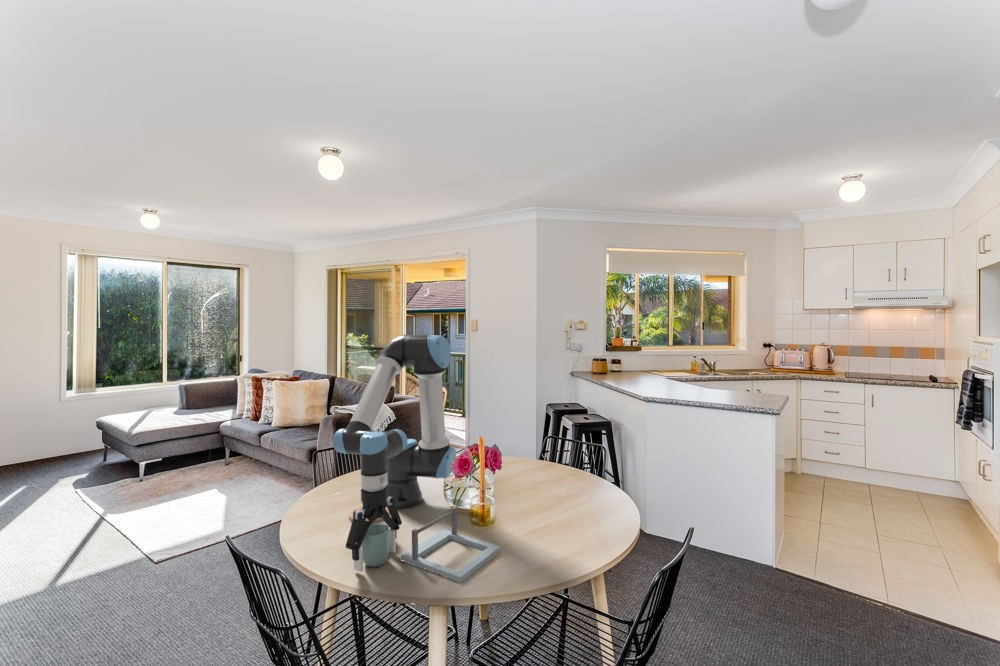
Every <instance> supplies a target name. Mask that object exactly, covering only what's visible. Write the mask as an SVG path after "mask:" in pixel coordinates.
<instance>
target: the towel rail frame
mask: <svg viewBox="0 0 1000 666" xmlns="http://www.w3.org/2000/svg"><path fill="white" fill-rule="evenodd" d="M457 509H458V508H457V507H455V506H453V507H451V510H449V512H447V513H445V514H443V515H442V516H439V517H438V518H435V519H434V520H432V521H430V522H428V523H427V524H426V525H424V526H422V527H420V528H418V529H417V528H413V529H412V530H411V548H410V549H409V550H407V551H405V552H403V553H402V554H400V557H399V558H400V561H401V560H404V561H406V562H409V563H411V564H414V565H416V566H415V567H417V566H419V567H418V568H420V567H422V568H425V569H427V570H426V571H428V570H430V571H433V572H435V573H434V574H436V573H438V574H440V575H439V576H441V575H443V576H442V577H444V576H446V577H448V578H447V579H449V578H451V579H450V580H452V579H454V580H453V581H455V580H456V581H455V582H457V581H458V582H457V583H460V582H461V583H463V581H465V580H466V579H467V578H469V577H470V576H471V575H473V574H474V573H475V572H476V571H477V570H479V569H480V568H482V567H483V566H484V565H485V564H487V563H488V562H489V561H490V560H491V559H492V558H494V557H496V555H498V554H499V553H500V552H501V546H499V545H496V544H494V543H493V544H492V543H490V542H486V541H483V540H481V539H480V540H479V539H476V538H473V537H470V536H468V535H463V534H461V533H458V514H457V513H458V510H457ZM448 517H451V530H447V529H445V528H443V529H442V530H440V531H438V532H437V533H435V534H433V535H432V536H430V537H429V538H426V540H424V541H422V542H420V543H419V534H420V533H421V532H424V531H426V530H427V529H429V528H430V527H432V526H434V525H435V524H438V523H439V522H440V521H443V520H444V519H446V518H448ZM449 540H452V541H453V542H457V543H460V544H464V545H467V546H468V547H473V548H476V549H480V550H482V551H481V552H479V553H478V554H477V555H475V556H474V557H472V558H471V559H470V560H469V561H467V562H466V563H465V564H463V565H462V566H461V567H460V568H458V569H457V570H455V569H452V568H450V567H446V566H444V565H442V564H438V563H436V562H432V561H430V560H427V559H424V558H422V556H423V557H424V556H426V555H428V554H429V553H430V551H431V550H432V551H434V550H435V549H437V548H438V547H439V545H440V546H441V545H443V544H445V543H446V542H448V541H449ZM444 542H445V543H444ZM436 547H437V548H436ZM433 549H434V550H433ZM432 551H431V552H432ZM428 552H429V553H428ZM425 554H426V555H425ZM420 557H421V558H420ZM406 562H405V563H406ZM409 563H408V564H409ZM411 564H410V565H411ZM414 565H413V566H414ZM422 568H421V569H422ZM425 569H424V570H425ZM430 571H429V572H430ZM433 572H432V573H433ZM438 574H437V575H438ZM446 577H445V578H446Z"/></svg>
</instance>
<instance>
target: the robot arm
mask: <svg viewBox="0 0 1000 666" xmlns="http://www.w3.org/2000/svg"><path fill="white" fill-rule="evenodd" d="M451 353H452V351H451V348H450V344H449V342H448V340H447V339H446V338H445V337H444V336H442V335H435V334H403V335H402V334H401V335H399V336H397V337H395V338H394V339H391V341H389V342H388V343H387V344H386V345H385V346H384V347H383V348H382V349H381V351H380V352H379V354H378V355H377V357H376V359H375V362H374V364H375V368H374V370H373V372H372V375H371V376H370V377H369V378H370V379H369V381H368V383H367V385H366V387H365V389H364V391H363V394H362V395H361V397H360V400H359V402H358V404H357V406H356V408H355V410H354V412H353V414H352V417H351V419H350V421H349V422H348V425H347V426H346V427H345V428H340V429H338V430H336V431H335V433H334V435H333V437H332V438H333V439H332V446H333V448H334V450H335V452H337V453H341V454H345V455H346V454H347V455H350V454H351V455H359V458H360V460H359V461H360V488H361V489H360V500H361V504H362V506H363V508H362V510H360V511H354V512H353V521H352V525H351V528H350V527H349V528H350V529H349V533H348V536H347V540H346V543H345V548H346V549H348V550H351V555H352V556H351V559H352V561H353V570H355V571H357V572H359V573H362V572H363V571H364V565H363V564H364V561H363V550H362V548H361V544H362V542H363V540H364V537H365V535H366V533H367V531H368V528H369V526H370V525H371V524H372V522H373V521H375V520H376V519H378V518H382V519H383V520H384V521H385V523H386V524H387V525H388V526H389V553H390V552H391V553H396V551H397V550H396V544H397V543H396V542H397V541H396V540H397V533H398V532H397V531H399V530H400V526H401V525H402V523H403V522H402V519H401V516H400V513H399V511H398V509H407V508H412V507H415V506H417V505H419V504H420V503H422V500H423V493H422V491H421V488H420V484H419V482H418V477H422V478H429V479H430V478H431V479H447V478H448V477H450V476H451V474H452V473H453V470H451V464H452V462H453V460H454V459H455V457H456V458H457V450H456V448H455V447H453V446H451V445H450V439H449V438H448V437H446V427H445V424H446V423H445V410H444V408H445V407H444V392H443V391H444V390H443V375H444V374H445V373H446V371H447V370H446V369H447V368H448V367H449V366H450V363H451V355H452V354H451ZM405 367H412V369H413V374H414V375H415V376H416V377H417V378H418V379H417V380H418V393H419V394H418V396H419V411H420V425H421V439H420V440H419V441H417V439H414V438H408V436H407V435H406V433H405V432H404V431H403V430H401V429H400V428H394V429H390V430H387V431H384V430H383V431H381V430H373V428H374V426H375V424H376V421H377V420H378V417H379V415H380V412H381V411H382V410H381V409H382V408H383V406H384V403H385V401H386V398H387V397H388V394H389V392H390V390H391V387H392V385H393V383H394V381H395V379H396V376H397V375H399V374H400V373H401V372H402V369H403V368H405ZM455 460H456V459H455ZM386 507H387V508H388V510H389V513H390V516H389V513H388V512H387V511H386V509H385V508H386ZM366 518H367V520H369V521H366Z"/></svg>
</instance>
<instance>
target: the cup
mask: <svg viewBox="0 0 1000 666" xmlns="http://www.w3.org/2000/svg"><path fill="white" fill-rule="evenodd" d="M389 529H390V527H388V526H387V525H384V524H372V525H370V526H369V528H368V531H367V533H366V535H365V537H364V540H363V542H362V544H361V546H360V547H361V548H362V550H363V564H365V566H368V567H370V566H371V567H372V568H377V567H381V566H382V565H384V564H385V563H386V561H387V560H388V557H389V553H390V551H389ZM376 566H377V567H376Z"/></svg>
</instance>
